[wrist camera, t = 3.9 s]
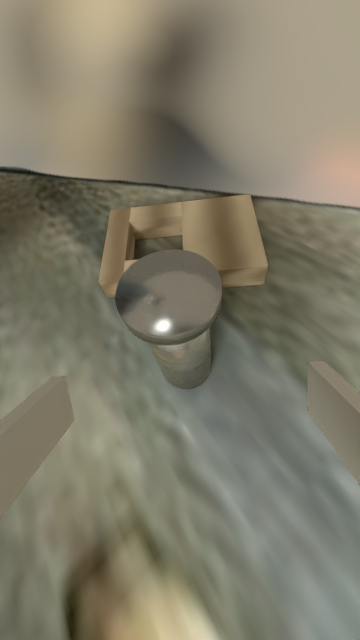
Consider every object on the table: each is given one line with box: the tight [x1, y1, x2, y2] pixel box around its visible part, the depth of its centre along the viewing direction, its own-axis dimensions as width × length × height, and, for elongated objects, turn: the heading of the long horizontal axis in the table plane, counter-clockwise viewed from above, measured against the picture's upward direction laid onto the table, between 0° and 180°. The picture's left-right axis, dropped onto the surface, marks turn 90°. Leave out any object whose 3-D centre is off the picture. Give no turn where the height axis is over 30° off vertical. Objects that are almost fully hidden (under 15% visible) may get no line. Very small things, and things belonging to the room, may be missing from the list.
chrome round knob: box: [115, 249, 222, 389], centre depth 21 cm, size 6×6×12 cm
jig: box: [98, 194, 268, 298], centre depth 33 cm, size 18×12×3 cm, turn 92°
